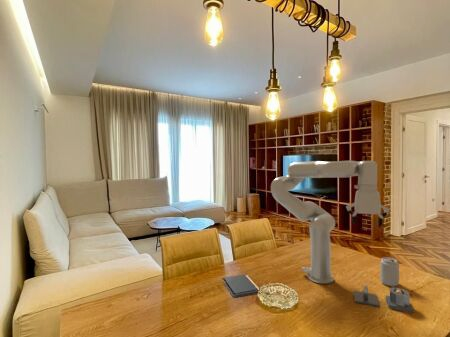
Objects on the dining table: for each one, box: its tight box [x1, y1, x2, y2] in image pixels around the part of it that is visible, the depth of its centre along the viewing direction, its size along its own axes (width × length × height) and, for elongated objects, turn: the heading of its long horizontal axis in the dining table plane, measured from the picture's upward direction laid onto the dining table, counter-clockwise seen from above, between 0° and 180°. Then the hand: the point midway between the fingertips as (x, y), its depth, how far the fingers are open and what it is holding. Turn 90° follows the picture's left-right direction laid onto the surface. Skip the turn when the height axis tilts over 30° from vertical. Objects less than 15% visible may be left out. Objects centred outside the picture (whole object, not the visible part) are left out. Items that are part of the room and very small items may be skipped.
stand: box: [353, 285, 380, 308], centre depth 109 cm, size 9×9×6 cm
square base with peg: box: [385, 290, 414, 314], centre depth 104 cm, size 8×8×6 cm
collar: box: [388, 286, 411, 307], centre depth 104 cm, size 7×7×4 cm
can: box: [379, 256, 400, 288], centre depth 122 cm, size 8×8×12 cm
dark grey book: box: [220, 274, 260, 299], centre depth 123 cm, size 20×2×15 cm
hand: (366, 225), depth 115 cm, fingers open, 9 cm apart
